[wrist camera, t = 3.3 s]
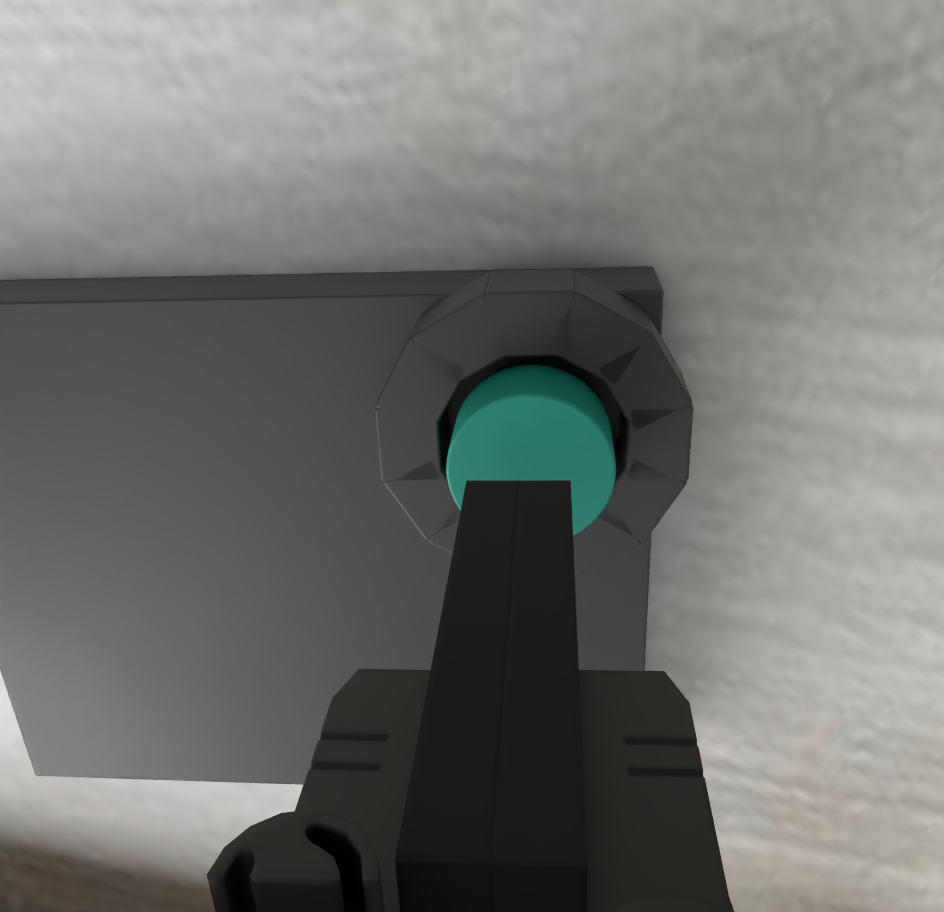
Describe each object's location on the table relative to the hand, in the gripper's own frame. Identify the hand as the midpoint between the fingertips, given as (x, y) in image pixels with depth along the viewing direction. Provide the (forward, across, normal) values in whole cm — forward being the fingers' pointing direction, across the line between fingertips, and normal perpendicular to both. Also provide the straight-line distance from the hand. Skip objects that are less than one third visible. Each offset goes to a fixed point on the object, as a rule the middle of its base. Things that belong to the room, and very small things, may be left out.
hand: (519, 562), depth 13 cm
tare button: (+4, 0, 0) cm, 4 cm away
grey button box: (+8, -5, -4) cm, 10 cm away
